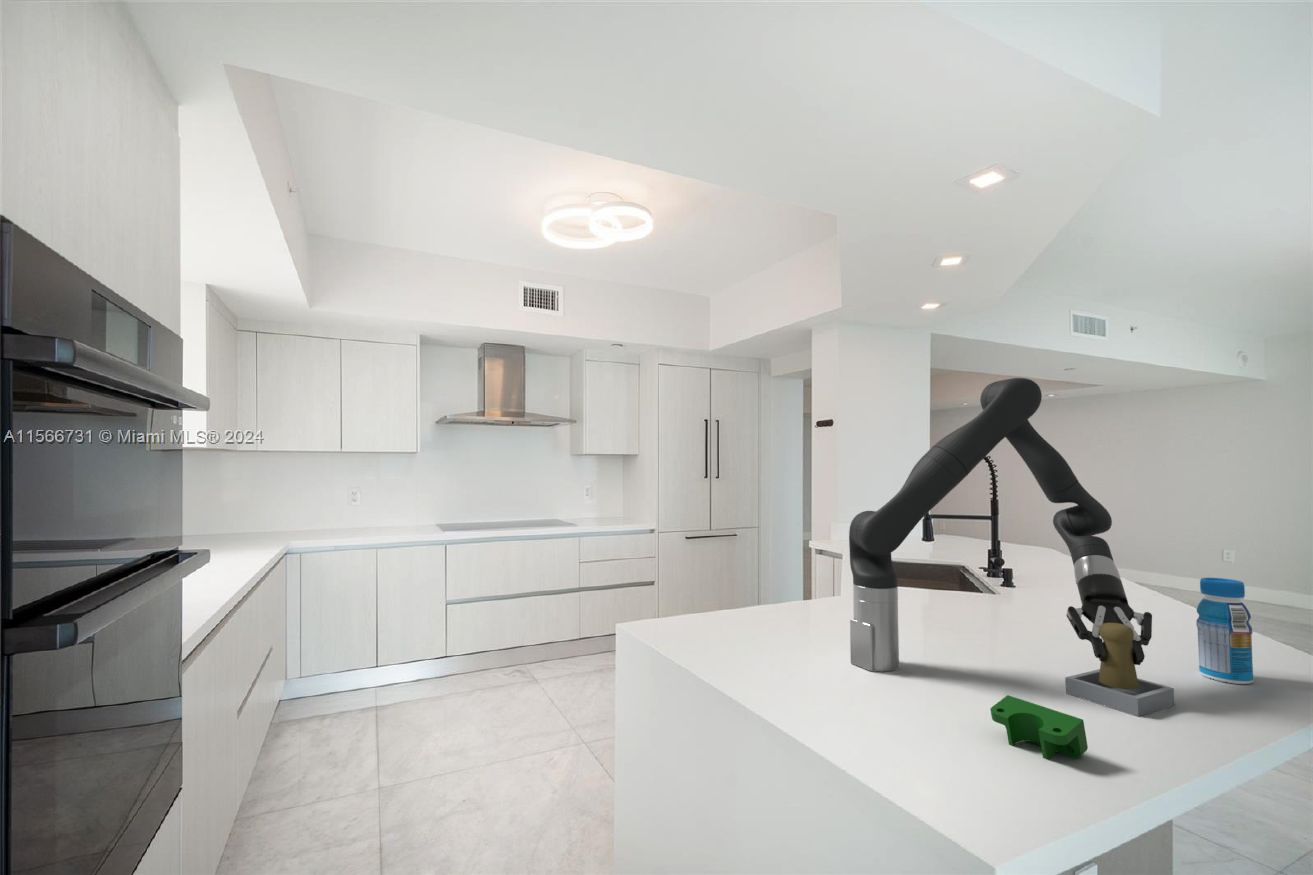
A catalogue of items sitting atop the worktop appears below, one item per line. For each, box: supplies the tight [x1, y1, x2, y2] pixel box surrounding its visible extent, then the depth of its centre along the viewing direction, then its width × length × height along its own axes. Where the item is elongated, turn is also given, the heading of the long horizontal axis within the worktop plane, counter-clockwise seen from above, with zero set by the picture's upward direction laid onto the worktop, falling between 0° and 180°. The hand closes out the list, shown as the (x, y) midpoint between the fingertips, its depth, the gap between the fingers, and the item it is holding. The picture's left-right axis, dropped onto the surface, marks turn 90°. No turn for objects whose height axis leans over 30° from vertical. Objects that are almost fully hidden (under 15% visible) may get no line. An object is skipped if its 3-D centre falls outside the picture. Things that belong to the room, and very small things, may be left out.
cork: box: [1099, 623, 1139, 689], centre depth 114 cm, size 6×6×11 cm
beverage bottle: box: [1195, 577, 1255, 685], centre depth 125 cm, size 8×8×20 cm
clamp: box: [989, 694, 1089, 760], centre depth 93 cm, size 12×6×9 cm, turn 25°
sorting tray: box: [1064, 668, 1176, 717], centre depth 113 cm, size 12×12×3 cm
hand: (1120, 660), depth 112 cm, fingers closed on cork, 4 cm apart
